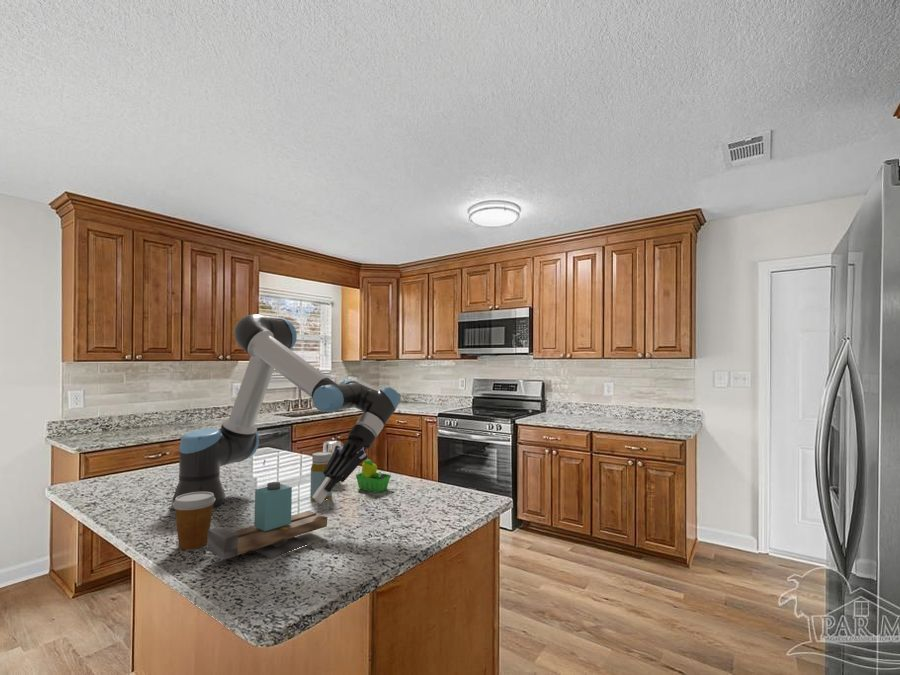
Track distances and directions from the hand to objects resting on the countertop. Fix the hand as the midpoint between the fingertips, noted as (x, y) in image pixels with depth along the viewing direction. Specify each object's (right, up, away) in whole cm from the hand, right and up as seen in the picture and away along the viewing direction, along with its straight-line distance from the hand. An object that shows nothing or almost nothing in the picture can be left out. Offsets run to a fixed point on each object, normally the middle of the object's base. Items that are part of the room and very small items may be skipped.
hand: (316, 500), depth 126 cm
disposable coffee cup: (-29, -8, -9) cm, 31 cm away
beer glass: (-10, -12, +54) cm, 56 cm away
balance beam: (-8, -8, -10) cm, 16 cm away
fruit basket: (+8, -11, +43) cm, 45 cm away
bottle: (-7, -11, +31) cm, 34 cm away
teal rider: (-8, -5, -10) cm, 14 cm away
